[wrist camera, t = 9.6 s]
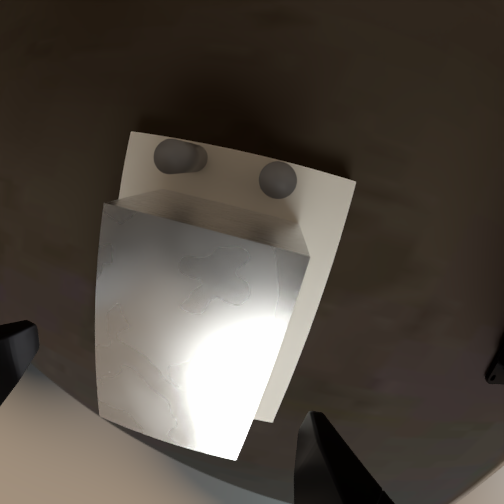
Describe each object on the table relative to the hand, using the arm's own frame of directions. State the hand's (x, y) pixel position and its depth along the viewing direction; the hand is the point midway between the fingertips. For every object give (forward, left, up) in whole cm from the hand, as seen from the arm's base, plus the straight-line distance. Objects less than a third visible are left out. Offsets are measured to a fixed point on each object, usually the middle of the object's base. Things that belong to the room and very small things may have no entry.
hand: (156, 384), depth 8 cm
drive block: (0, 0, -6) cm, 6 cm away
